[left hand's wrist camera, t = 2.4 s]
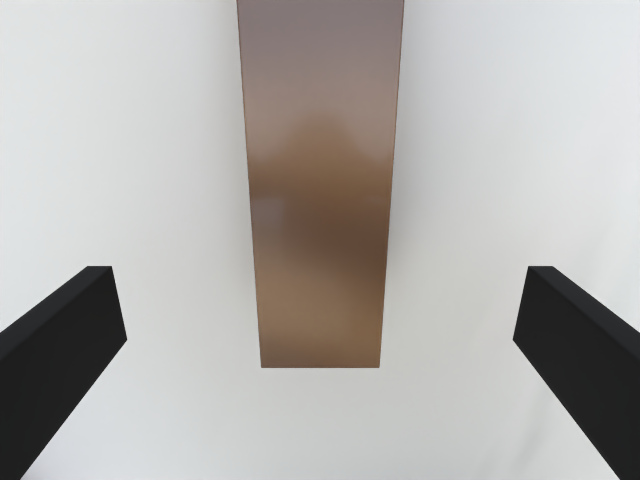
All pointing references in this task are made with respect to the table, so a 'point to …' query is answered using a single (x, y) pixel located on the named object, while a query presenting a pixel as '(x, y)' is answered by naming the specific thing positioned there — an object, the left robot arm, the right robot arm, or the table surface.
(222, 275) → the table surface
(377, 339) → the bar
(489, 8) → the table surface
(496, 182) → the table surface
